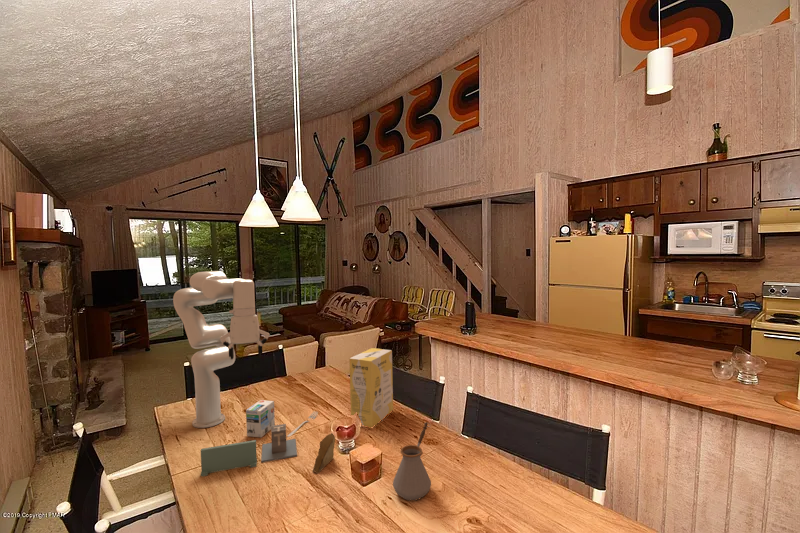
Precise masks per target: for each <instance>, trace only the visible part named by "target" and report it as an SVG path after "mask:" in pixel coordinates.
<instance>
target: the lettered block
mask: <svg viewBox="0 0 800 533" xmlns="http://www.w3.org/2000/svg"><path fill="white" fill-rule="evenodd" d="M270 431H271V432H270V433H271V434H270V436H271V443H272V454H274V453H280V452H286V440H287V424H286V423H282V424H276V425H274V426H272V428H271V430H270Z"/></svg>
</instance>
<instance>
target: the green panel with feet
mask: <svg viewBox="0 0 800 533" xmlns="http://www.w3.org/2000/svg"><path fill="white" fill-rule="evenodd" d="M257 454H258V453H257V440H256V439H253V440H248V441H241V442H235V443H229V444H222V445H216V446H211V447H205V448H201V449H200V466H201V467H200V468H201V469H200V477H201V476H202V477H207V476H209V475H208V474H211V473H217V472H223V471H227V470H234V469H237V468H244V467H249V468H257V464H258V458H257V456H258V455H257Z"/></svg>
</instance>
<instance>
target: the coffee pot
mask: <svg viewBox="0 0 800 533" xmlns="http://www.w3.org/2000/svg"><path fill="white" fill-rule="evenodd" d="M428 425H429V426H428ZM430 427H431V424H430V423H429V422H427V421H426V422H424V423H423V427H422V430H421V432H420V433H419V439H418V440H417V445H415V444H409V445H408V444H407V445H404V446H403V447H401V448H400V453H401V455H402V459H401V461H400V463H399V466H398V468H397V470H396V473H395V476H394V478H393V481H392V486H393V489H394V491H395V493H396V494H397V495H398V496H399V497H401V498H402V497H403V498H402V499H404V500H406V501H410V500H415V501H417V500H416V499H419V498H421V497H422V498H423V497H424V496H426V495H427V494H428V493H429V492H430V490H431V486H432V480H431V478H430V476H429V474H428V471H427V469H426V466H425V465H424V463H423V461H422V456H423V454H424V453H423V449H422V447H420V446H421V443H422V441H423V439H424V438H425V437H424V436H425V435H426V431H427V428H430ZM422 498H421V499H422ZM419 500H420V499H419Z"/></svg>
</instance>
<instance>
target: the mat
mask: <svg viewBox="0 0 800 533" xmlns="http://www.w3.org/2000/svg"><path fill="white" fill-rule="evenodd" d="M296 441H297V440H296V438H291V439H286V452H280V453H274V454H272V442H268V443H262V447H261V458H260V459H261V460H260V462H261V463H267V462H272V461H273V462H274V461H279V460H284V459H288V458H289V459H290V458H293V457H295V458H296V457H298V451H297V442H296Z"/></svg>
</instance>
